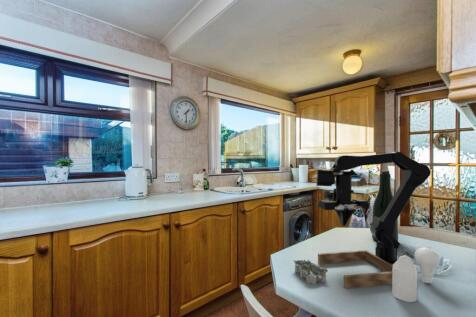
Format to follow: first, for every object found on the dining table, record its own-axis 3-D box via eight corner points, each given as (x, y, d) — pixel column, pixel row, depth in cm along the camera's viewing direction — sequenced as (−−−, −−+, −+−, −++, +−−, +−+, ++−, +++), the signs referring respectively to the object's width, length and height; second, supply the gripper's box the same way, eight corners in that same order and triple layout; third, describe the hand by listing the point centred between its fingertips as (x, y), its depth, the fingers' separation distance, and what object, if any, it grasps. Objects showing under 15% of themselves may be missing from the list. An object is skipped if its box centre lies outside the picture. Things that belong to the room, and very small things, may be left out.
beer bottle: (403, 245, 103) (404, 171, 102) (380, 245, 103) (380, 171, 102) (388, 236, 113) (389, 169, 113) (367, 236, 113) (367, 170, 113)
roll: (407, 250, 68) (423, 258, 62) (406, 290, 68) (423, 302, 63) (387, 250, 68) (402, 259, 62) (387, 291, 68) (401, 303, 62)
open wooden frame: (366, 259, 89) (366, 250, 89) (404, 283, 72) (404, 271, 72) (317, 262, 86) (317, 253, 86) (345, 288, 69) (345, 277, 69)
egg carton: (329, 283, 73) (329, 270, 73) (308, 286, 71) (308, 273, 71) (310, 267, 83) (310, 255, 83) (291, 269, 81) (292, 258, 81)
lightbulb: (441, 290, 68) (442, 253, 68) (415, 284, 71) (415, 249, 71) (437, 281, 73) (437, 246, 73) (413, 275, 76) (413, 242, 76)
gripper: (351, 183, 101) (351, 219, 101) (312, 184, 98) (311, 221, 98) (370, 187, 90) (370, 227, 90) (325, 188, 87) (325, 229, 87)
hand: (343, 225), depth 92 cm, fingers closed
